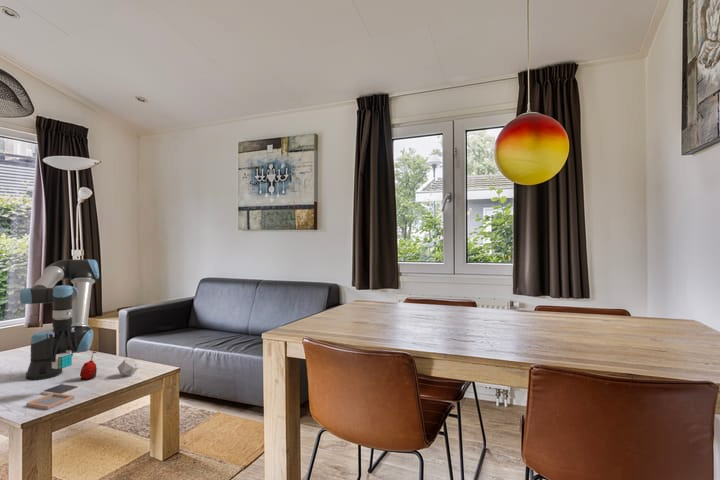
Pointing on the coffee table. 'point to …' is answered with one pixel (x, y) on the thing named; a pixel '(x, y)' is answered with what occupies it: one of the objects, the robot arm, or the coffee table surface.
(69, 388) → the ink pad
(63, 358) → the puzzle toy
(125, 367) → the die
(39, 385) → the coffee table surface
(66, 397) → the square tray
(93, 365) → the red clay folk toy
